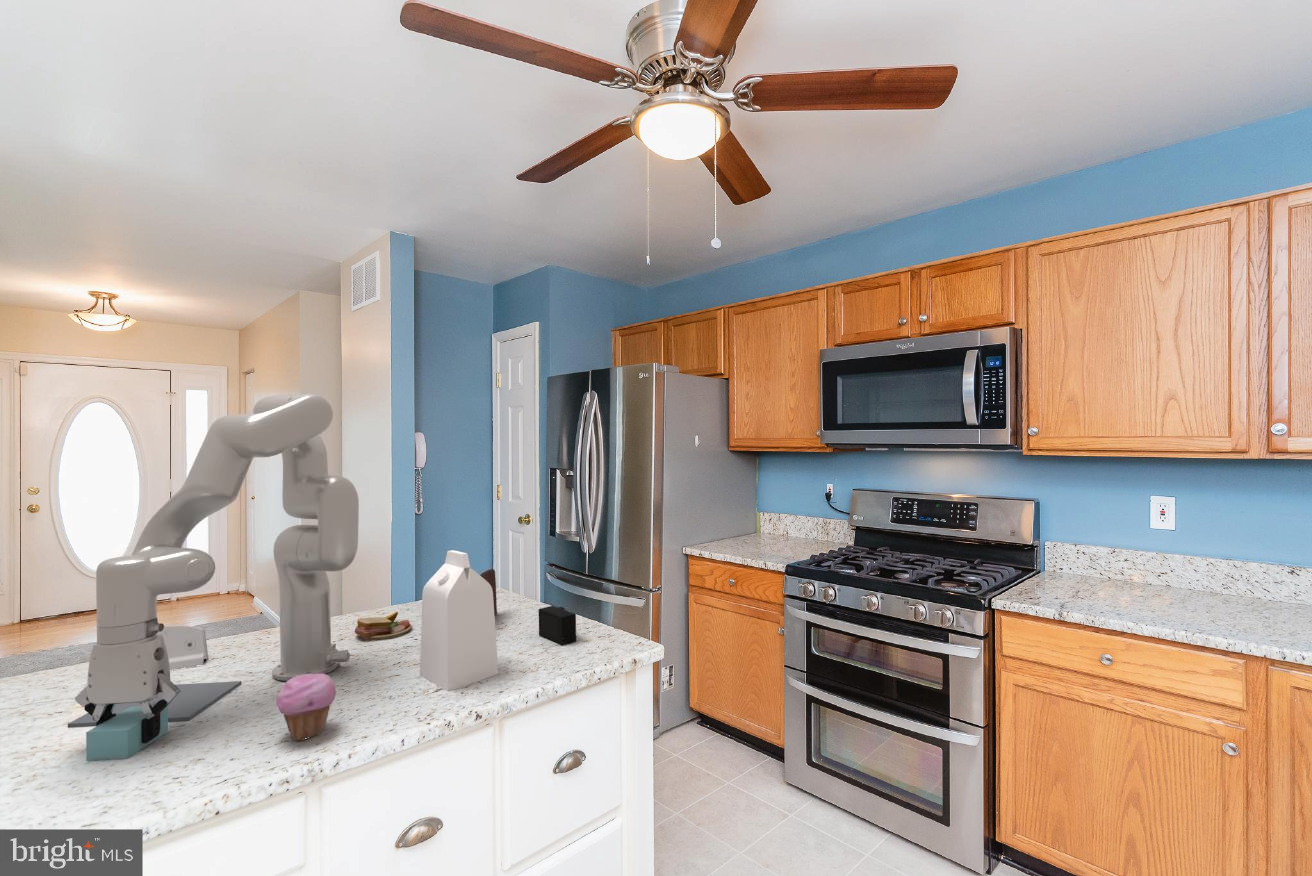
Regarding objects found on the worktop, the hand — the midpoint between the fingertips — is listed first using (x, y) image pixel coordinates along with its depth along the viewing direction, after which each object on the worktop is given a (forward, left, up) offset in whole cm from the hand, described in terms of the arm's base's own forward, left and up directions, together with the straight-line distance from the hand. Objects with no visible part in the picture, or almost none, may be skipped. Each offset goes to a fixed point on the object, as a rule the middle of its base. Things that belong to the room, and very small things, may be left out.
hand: (128, 739), depth 99 cm
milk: (-48, -23, -1) cm, 53 cm away
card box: (0, 0, -1) cm, 1 cm away
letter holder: (-43, -58, -1) cm, 72 cm away
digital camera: (-68, -44, -1) cm, 81 cm away
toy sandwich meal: (-22, -54, -1) cm, 58 cm away
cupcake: (-28, 0, -1) cm, 28 cm away
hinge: (+20, -37, -1) cm, 42 cm away
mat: (+6, -16, -1) cm, 17 cm away
